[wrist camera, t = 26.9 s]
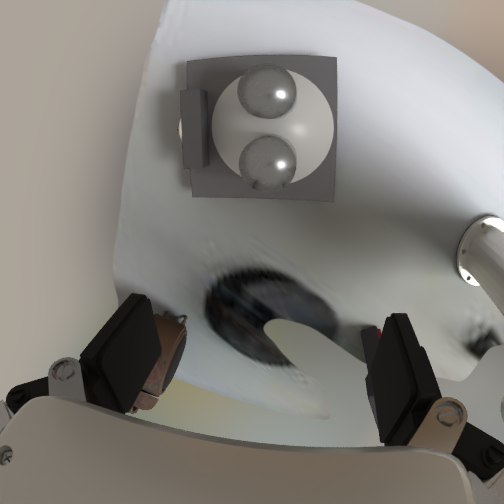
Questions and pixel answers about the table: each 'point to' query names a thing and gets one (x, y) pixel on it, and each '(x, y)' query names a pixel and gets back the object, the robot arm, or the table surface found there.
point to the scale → (258, 126)
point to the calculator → (370, 360)
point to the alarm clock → (163, 361)
